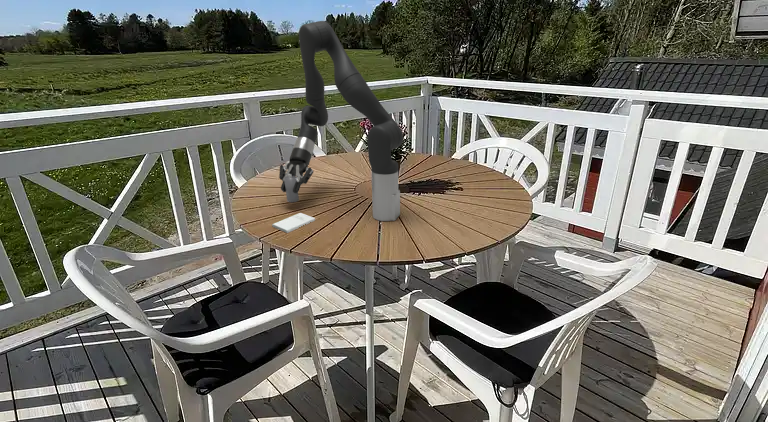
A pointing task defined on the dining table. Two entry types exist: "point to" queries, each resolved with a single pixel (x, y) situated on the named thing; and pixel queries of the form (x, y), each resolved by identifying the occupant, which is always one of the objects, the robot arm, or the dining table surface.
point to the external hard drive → (293, 222)
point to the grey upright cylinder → (290, 188)
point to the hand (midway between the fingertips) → (289, 191)
